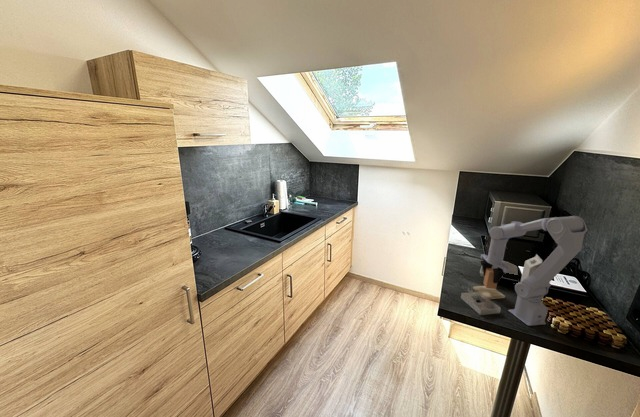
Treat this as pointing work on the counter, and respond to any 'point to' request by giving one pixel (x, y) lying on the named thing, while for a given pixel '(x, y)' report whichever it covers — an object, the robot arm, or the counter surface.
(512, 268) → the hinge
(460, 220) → the counter surface
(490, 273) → the peg
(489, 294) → the board
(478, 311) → the socket block
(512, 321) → the counter surface
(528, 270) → the milk carton
